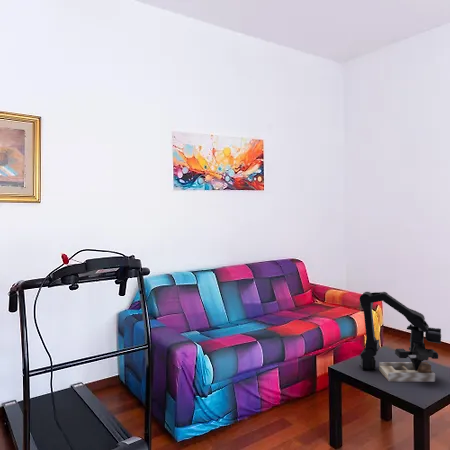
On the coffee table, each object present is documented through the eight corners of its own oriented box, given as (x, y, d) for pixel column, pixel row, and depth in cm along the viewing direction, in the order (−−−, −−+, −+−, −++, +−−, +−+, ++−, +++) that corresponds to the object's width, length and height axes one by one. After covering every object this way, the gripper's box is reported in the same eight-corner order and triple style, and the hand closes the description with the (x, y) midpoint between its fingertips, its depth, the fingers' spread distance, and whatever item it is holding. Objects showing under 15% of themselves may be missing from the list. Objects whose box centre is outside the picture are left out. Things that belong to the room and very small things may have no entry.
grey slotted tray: (388, 381, 192) (389, 373, 192) (378, 369, 205) (378, 362, 205) (434, 381, 192) (435, 373, 191) (421, 370, 205) (422, 362, 204)
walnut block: (421, 374, 193) (421, 365, 193) (417, 370, 198) (417, 362, 197) (431, 374, 193) (431, 365, 193) (426, 370, 198) (426, 362, 197)
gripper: (404, 345, 186) (403, 377, 187) (445, 345, 186) (443, 378, 187) (395, 336, 198) (393, 367, 199) (433, 337, 197) (431, 368, 198)
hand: (415, 370), depth 195 cm, fingers closed
